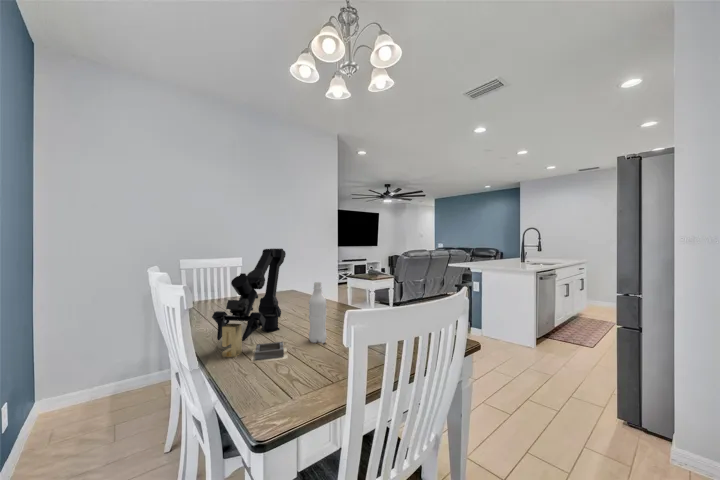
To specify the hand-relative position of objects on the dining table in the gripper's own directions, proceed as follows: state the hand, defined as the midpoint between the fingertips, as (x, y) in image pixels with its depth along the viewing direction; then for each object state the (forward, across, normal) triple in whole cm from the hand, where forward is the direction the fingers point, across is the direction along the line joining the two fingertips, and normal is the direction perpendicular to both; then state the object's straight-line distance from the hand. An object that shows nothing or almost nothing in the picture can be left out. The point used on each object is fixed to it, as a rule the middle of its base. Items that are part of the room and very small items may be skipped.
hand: (230, 340), depth 101 cm
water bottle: (-8, +27, +19) cm, 34 cm away
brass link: (+4, 0, +6) cm, 7 cm away
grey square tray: (+3, +13, +7) cm, 15 cm away
